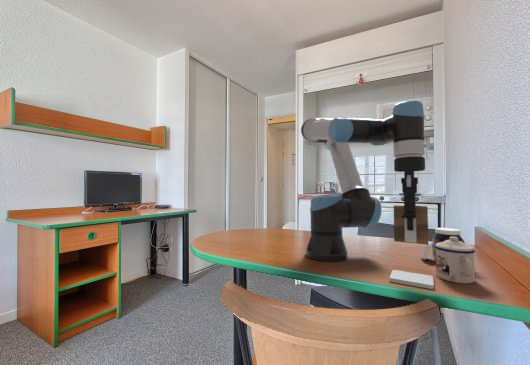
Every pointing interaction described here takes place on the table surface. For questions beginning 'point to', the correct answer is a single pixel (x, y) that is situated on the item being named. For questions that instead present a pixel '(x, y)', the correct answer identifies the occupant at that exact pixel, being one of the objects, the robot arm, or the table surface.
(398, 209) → the walnut slab
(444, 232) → the spread jar
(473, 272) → the teacup with lid
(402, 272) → the grey board
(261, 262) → the table surface
